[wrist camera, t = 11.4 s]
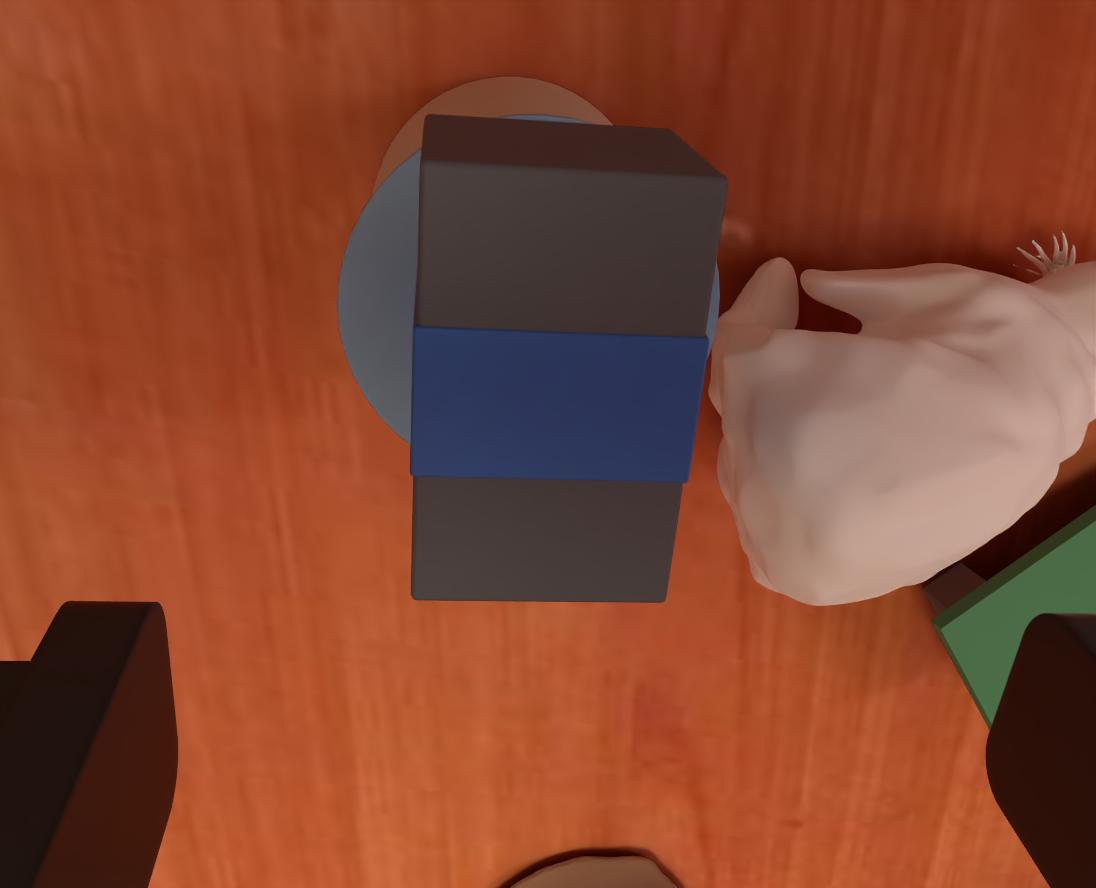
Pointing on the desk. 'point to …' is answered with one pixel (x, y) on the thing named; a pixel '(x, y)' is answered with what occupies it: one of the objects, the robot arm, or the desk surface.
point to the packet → (556, 356)
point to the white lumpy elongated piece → (897, 416)
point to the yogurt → (392, 240)
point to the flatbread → (598, 874)
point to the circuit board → (1011, 606)
